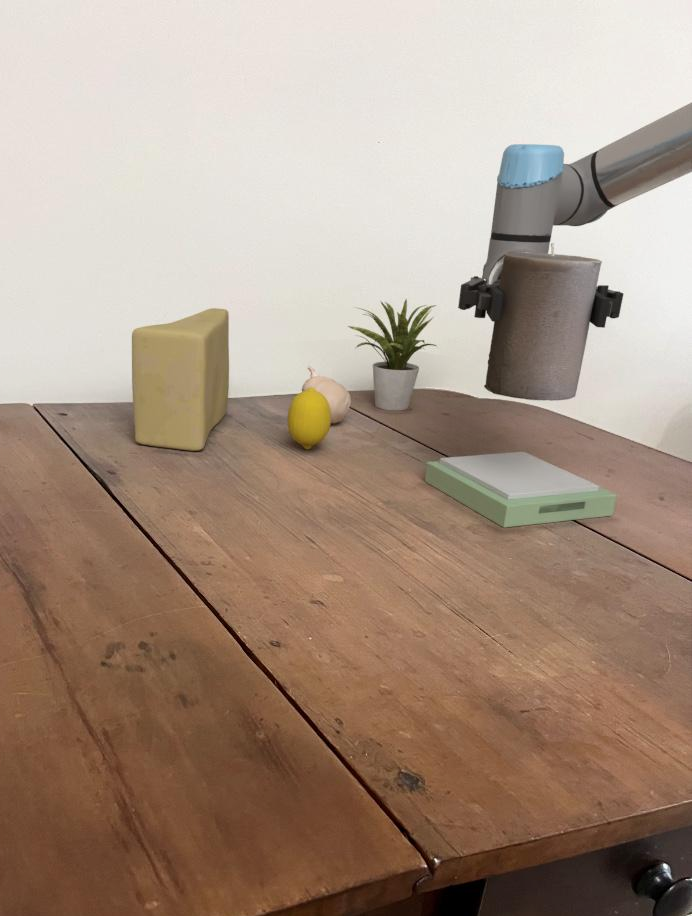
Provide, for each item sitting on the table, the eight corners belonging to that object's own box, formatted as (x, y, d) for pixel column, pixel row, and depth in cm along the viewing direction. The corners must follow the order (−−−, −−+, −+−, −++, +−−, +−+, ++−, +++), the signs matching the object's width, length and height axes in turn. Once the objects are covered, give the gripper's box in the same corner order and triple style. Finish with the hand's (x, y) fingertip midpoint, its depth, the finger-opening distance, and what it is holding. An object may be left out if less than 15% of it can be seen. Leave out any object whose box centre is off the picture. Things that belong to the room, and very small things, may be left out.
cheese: (191, 408, 137) (192, 304, 131) (253, 415, 135) (257, 309, 128) (130, 444, 118) (128, 324, 112) (201, 453, 116) (203, 331, 109)
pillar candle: (471, 392, 98) (492, 241, 91) (500, 378, 105) (522, 237, 99) (563, 406, 93) (592, 248, 87) (587, 390, 101) (615, 244, 94)
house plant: (383, 390, 153) (393, 288, 146) (455, 405, 144) (470, 297, 137) (330, 403, 143) (338, 293, 136) (404, 420, 135) (416, 304, 128)
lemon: (304, 457, 116) (308, 394, 112) (277, 447, 120) (280, 385, 116) (337, 451, 119) (342, 389, 115) (309, 441, 123) (313, 381, 119)
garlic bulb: (327, 415, 136) (331, 360, 133) (356, 425, 131) (361, 368, 128) (292, 420, 132) (295, 364, 129) (321, 431, 128) (325, 373, 124)
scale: (612, 515, 99) (618, 489, 98) (503, 528, 95) (508, 500, 93) (523, 472, 113) (527, 448, 112) (424, 481, 108) (427, 456, 107)
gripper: (611, 323, 112) (658, 355, 92) (426, 313, 114) (432, 342, 94) (624, 257, 108) (675, 276, 88) (434, 248, 111) (441, 265, 91)
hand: (550, 310), depth 91 cm, fingers closed on pillar candle, 9 cm apart
